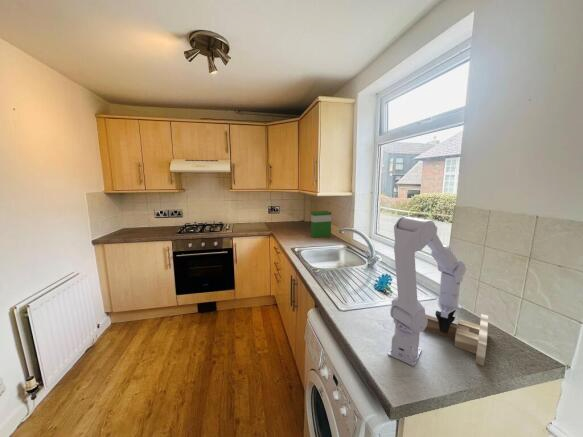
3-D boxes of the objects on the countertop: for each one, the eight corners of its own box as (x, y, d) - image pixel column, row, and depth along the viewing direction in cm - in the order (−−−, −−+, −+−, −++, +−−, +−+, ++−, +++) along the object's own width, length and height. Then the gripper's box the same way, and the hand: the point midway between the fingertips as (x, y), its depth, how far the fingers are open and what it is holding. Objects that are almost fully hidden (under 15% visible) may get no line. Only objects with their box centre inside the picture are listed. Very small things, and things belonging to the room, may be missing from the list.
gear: (370, 281, 130) (385, 269, 128) (377, 288, 131) (391, 276, 130) (379, 294, 119) (395, 281, 118) (386, 301, 121) (402, 288, 119)
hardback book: (327, 234, 243) (327, 210, 239) (330, 236, 236) (331, 211, 232) (310, 236, 238) (311, 211, 234) (313, 238, 231) (314, 212, 227)
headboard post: (483, 366, 74) (486, 345, 73) (452, 354, 79) (454, 334, 78) (485, 333, 89) (488, 315, 88) (459, 325, 94) (461, 308, 93)
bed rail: (467, 345, 83) (469, 331, 83) (421, 329, 92) (422, 316, 91) (468, 341, 85) (470, 328, 84) (423, 325, 94) (424, 313, 93)
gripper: (460, 303, 78) (456, 342, 80) (465, 287, 89) (461, 322, 91) (435, 296, 82) (431, 333, 85) (442, 282, 93) (439, 315, 96)
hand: (445, 327), depth 88 cm, fingers open, 7 cm apart
